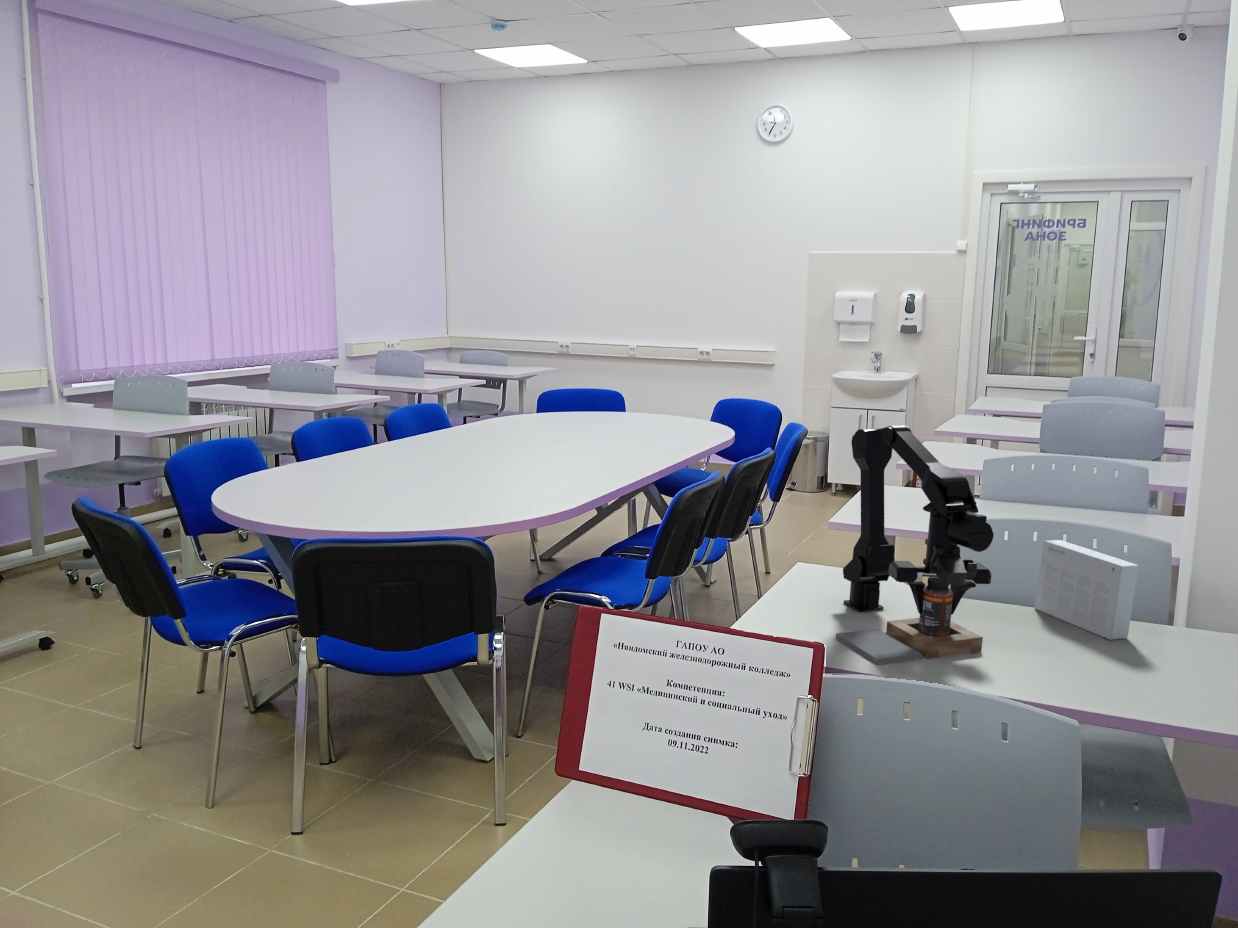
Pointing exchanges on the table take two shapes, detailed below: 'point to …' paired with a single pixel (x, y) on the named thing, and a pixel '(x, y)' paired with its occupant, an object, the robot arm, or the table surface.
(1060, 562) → the skincare box
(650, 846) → the table surface
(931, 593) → the supplement bottle
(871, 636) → the rubber mat
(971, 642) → the collar block
